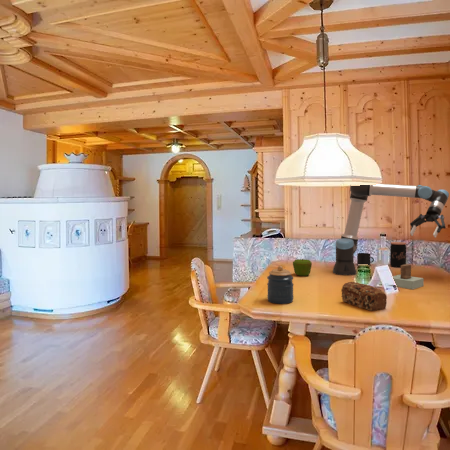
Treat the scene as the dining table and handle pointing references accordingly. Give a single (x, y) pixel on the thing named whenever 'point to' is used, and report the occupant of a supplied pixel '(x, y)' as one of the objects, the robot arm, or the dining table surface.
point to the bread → (363, 296)
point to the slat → (405, 271)
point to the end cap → (408, 282)
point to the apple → (302, 267)
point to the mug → (364, 258)
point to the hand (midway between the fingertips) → (422, 235)
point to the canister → (280, 286)
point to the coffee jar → (397, 254)
